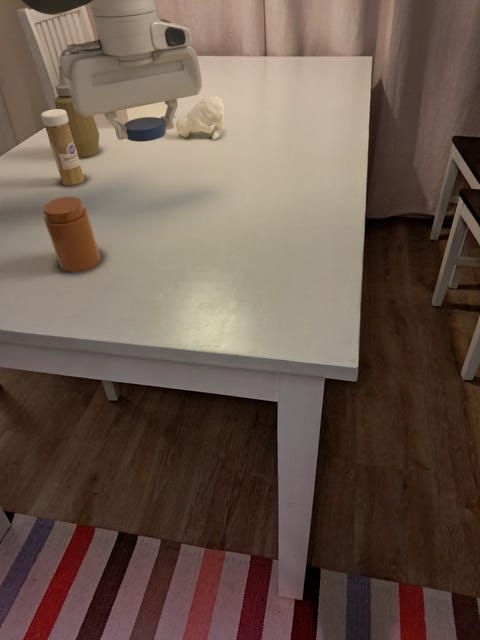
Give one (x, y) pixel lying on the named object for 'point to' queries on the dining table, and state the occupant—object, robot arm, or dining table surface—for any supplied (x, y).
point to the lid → (145, 129)
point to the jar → (71, 234)
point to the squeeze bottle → (77, 121)
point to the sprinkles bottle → (63, 146)
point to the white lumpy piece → (203, 117)
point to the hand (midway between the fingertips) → (146, 133)
